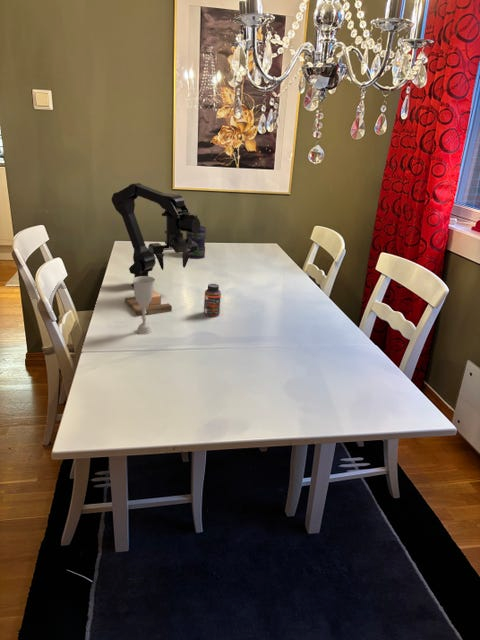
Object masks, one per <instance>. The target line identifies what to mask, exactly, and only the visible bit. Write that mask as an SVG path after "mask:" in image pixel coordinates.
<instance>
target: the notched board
mask: <svg viewBox="0 0 480 640" xmlns="http://www.w3.org/2000/svg"><path fill="white" fill-rule="evenodd" d="M124 304H125V305H126V306H128V308H129V309H130V310H131V311H132V312H133V313H134V314H135V315H136V316H137V317H142V316H143V314H142V310H143V308H142V307H140V305H139V304H138V302H137V300H136V297H135V296H131V297H130V296H128V297H124ZM172 311H173V306H172V305H171V304H170V303H163V304H162V303H161V304H160V305H153V306H147V307H146V312H147V313H146V316H147V315H148V316H149V315H155V314H161V313H169V312H172Z"/></svg>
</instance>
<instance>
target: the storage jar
mask: <svg viewBox="0 0 480 640" xmlns="http://www.w3.org/2000/svg"><path fill="white" fill-rule="evenodd" d="M206 229H207V227H206V226H202V225H200V229H199V231H198V232H197V233H190V232H186V234H185V235H186V238H185V239H191V240H192V241H194V242H195V243H197V244H198V251H195V253H192V254H191V255H190V257H189V259H192V260H201V259H204V258H205V257H206V237H207V233H206V232H207V231H206Z"/></svg>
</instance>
